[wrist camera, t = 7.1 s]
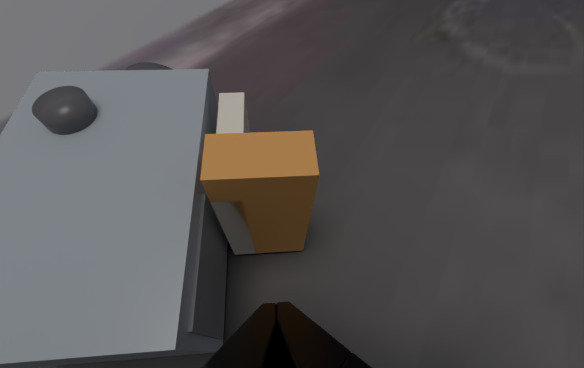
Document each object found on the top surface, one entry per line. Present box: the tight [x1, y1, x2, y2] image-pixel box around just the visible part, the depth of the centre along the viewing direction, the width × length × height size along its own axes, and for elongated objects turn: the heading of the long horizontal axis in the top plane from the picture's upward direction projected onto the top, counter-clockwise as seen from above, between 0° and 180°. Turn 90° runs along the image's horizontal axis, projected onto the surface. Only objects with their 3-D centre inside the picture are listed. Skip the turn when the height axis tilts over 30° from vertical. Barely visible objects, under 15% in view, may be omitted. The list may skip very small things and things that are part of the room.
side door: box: [200, 93, 319, 255], centre depth 15 cm, size 6×4×8 cm, turn 4°
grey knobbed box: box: [0, 63, 228, 368], centre depth 14 cm, size 14×8×8 cm, turn 4°
